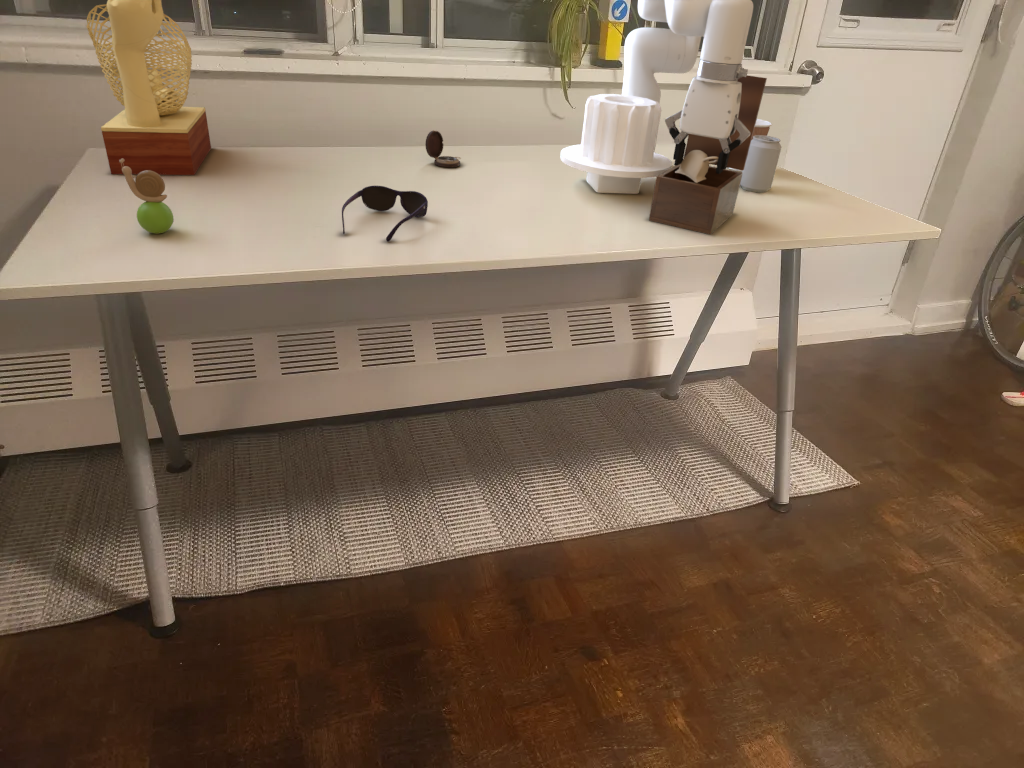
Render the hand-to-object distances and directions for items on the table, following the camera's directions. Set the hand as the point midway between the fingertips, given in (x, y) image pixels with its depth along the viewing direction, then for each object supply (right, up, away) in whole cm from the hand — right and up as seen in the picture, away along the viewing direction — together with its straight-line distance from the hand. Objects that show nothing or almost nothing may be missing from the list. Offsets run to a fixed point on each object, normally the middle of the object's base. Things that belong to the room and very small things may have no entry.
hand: (698, 167), depth 140 cm
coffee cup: (+23, +14, +47) cm, 55 cm away
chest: (+1, -8, +7) cm, 11 cm away
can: (+21, +4, +30) cm, 37 cm away
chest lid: (+6, +11, +4) cm, 13 cm away
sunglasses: (-60, -14, -10) cm, 63 cm away
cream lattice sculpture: (-114, +6, +16) cm, 115 cm away
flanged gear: (-14, +2, +23) cm, 27 cm away
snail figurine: (-97, -17, -21) cm, 101 cm away
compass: (-53, +10, +31) cm, 62 cm away
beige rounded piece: (-1, -2, +2) cm, 3 cm away
